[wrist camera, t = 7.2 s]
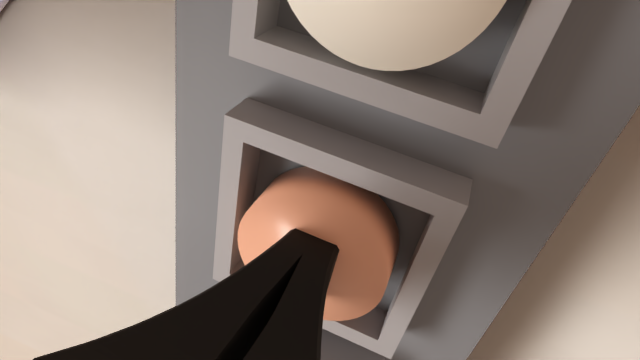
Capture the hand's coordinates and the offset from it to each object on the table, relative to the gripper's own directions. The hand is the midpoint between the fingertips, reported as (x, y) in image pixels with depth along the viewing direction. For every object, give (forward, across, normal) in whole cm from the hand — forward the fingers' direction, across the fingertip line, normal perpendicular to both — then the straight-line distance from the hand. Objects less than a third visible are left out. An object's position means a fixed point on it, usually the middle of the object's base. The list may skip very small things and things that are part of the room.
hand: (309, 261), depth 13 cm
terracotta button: (+1, 0, 0) cm, 1 cm away
